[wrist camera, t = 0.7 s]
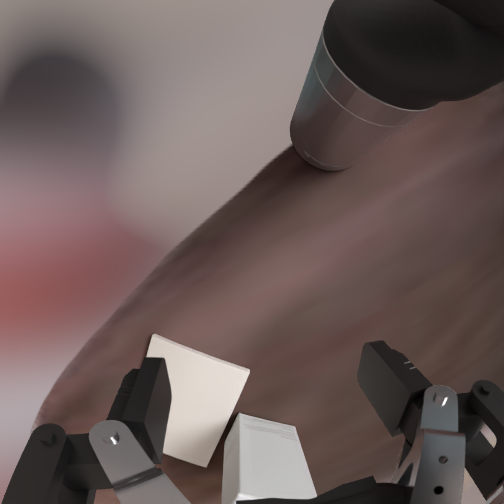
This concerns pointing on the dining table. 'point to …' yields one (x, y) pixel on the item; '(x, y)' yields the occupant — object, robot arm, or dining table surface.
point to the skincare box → (264, 462)
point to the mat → (197, 399)
